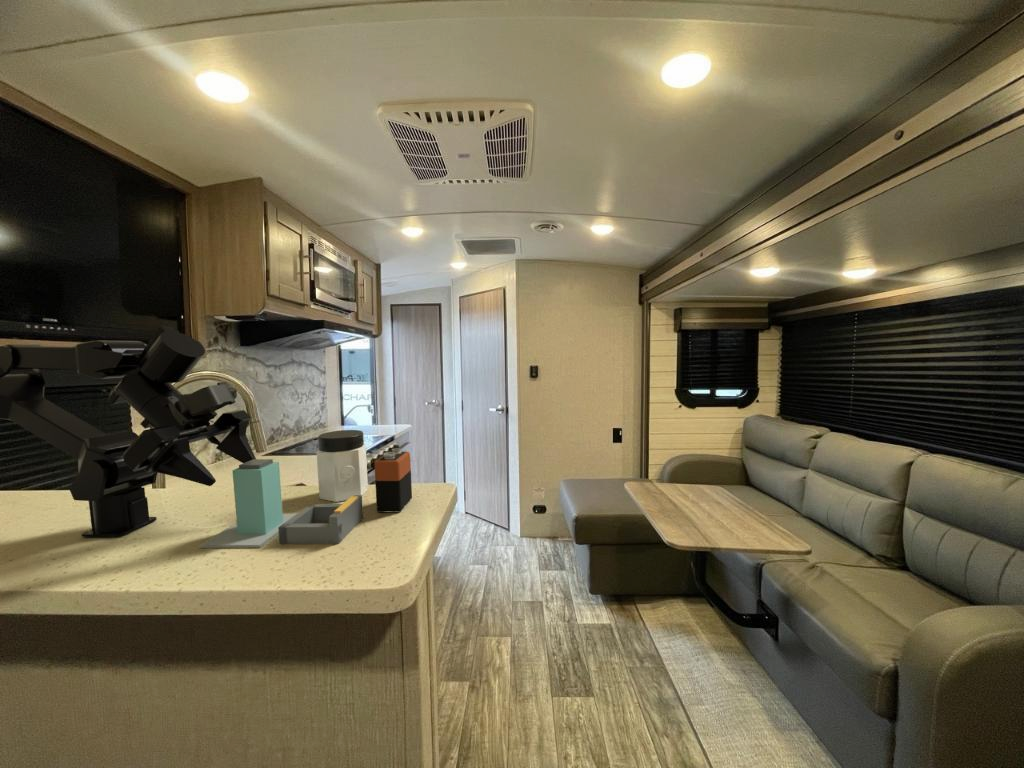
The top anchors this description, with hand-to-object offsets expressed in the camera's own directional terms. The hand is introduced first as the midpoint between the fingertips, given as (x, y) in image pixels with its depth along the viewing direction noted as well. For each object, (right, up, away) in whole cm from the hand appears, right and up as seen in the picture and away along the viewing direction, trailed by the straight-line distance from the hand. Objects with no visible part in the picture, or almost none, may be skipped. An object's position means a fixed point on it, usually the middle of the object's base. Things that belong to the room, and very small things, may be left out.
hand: (235, 473), depth 63 cm
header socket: (+14, -9, 0) cm, 16 cm away
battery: (+22, -8, +10) cm, 25 cm away
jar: (+10, -8, +16) cm, 21 cm away
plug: (+4, -9, +1) cm, 9 cm away
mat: (+3, -9, +1) cm, 9 cm away
